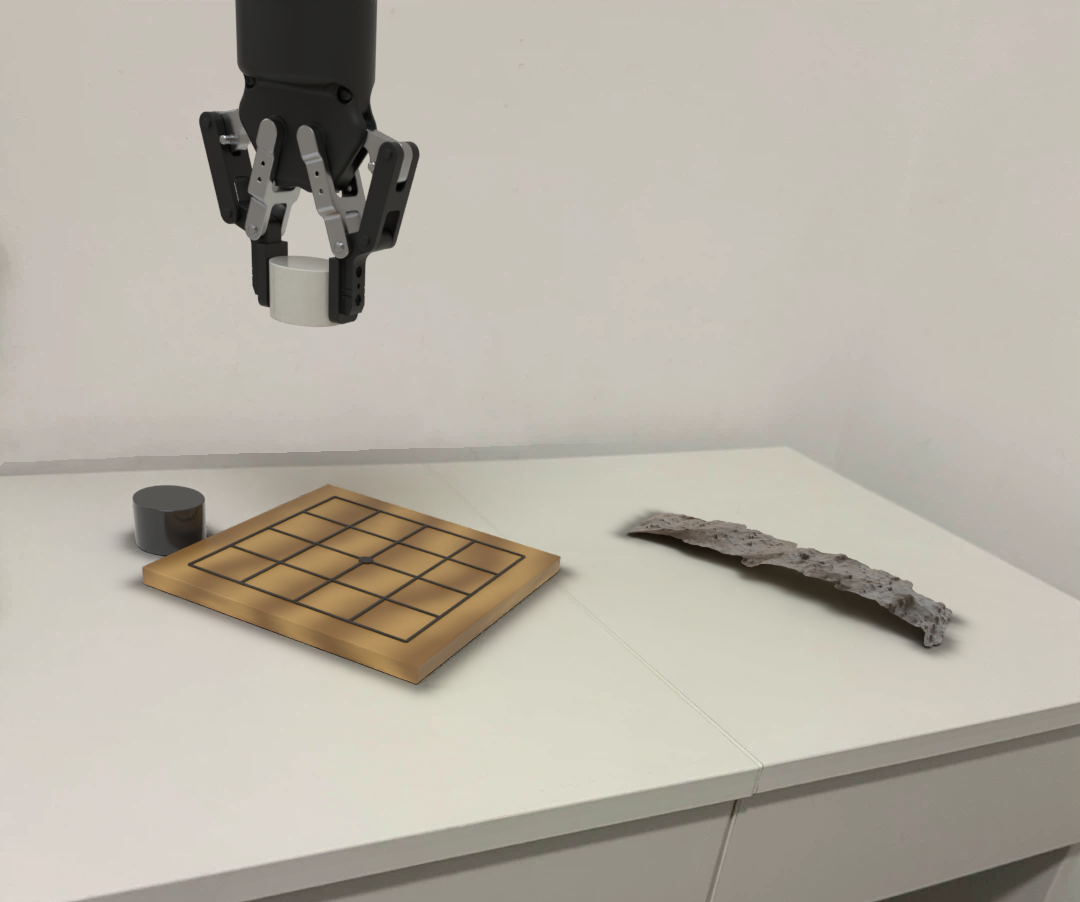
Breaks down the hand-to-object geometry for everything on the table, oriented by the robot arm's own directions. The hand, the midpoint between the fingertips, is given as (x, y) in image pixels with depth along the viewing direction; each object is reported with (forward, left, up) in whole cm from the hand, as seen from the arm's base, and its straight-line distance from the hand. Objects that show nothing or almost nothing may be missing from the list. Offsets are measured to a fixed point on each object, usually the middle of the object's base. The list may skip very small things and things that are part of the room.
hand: (307, 311), depth 66 cm
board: (+6, -1, -16) cm, 17 cm away
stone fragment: (+30, +20, -16) cm, 39 cm away
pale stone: (0, 0, 0) cm, 0 cm away
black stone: (-7, -5, -16) cm, 18 cm away
